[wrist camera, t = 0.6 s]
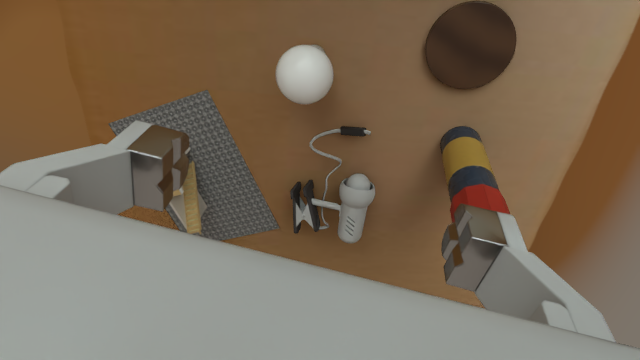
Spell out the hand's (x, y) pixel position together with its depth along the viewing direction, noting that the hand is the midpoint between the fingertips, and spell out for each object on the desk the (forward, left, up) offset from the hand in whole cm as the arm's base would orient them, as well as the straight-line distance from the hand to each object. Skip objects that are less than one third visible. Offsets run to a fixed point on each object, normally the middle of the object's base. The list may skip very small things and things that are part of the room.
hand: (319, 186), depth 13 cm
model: (+36, -16, -42) cm, 57 cm away
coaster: (+4, +13, -42) cm, 44 cm away
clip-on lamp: (+27, +4, -42) cm, 50 cm away
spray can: (+16, +18, -42) cm, 48 cm away
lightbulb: (+11, -4, -42) cm, 44 cm away
